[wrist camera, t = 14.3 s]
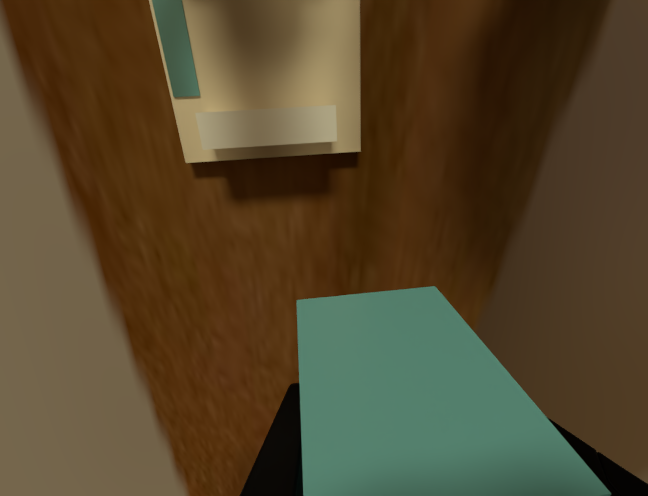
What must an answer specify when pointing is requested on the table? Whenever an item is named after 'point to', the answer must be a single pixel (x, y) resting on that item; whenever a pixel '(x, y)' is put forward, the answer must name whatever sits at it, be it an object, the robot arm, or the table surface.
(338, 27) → the backplate with mounted blocks
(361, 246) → the table surface
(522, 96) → the table surface
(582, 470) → the teal plug
